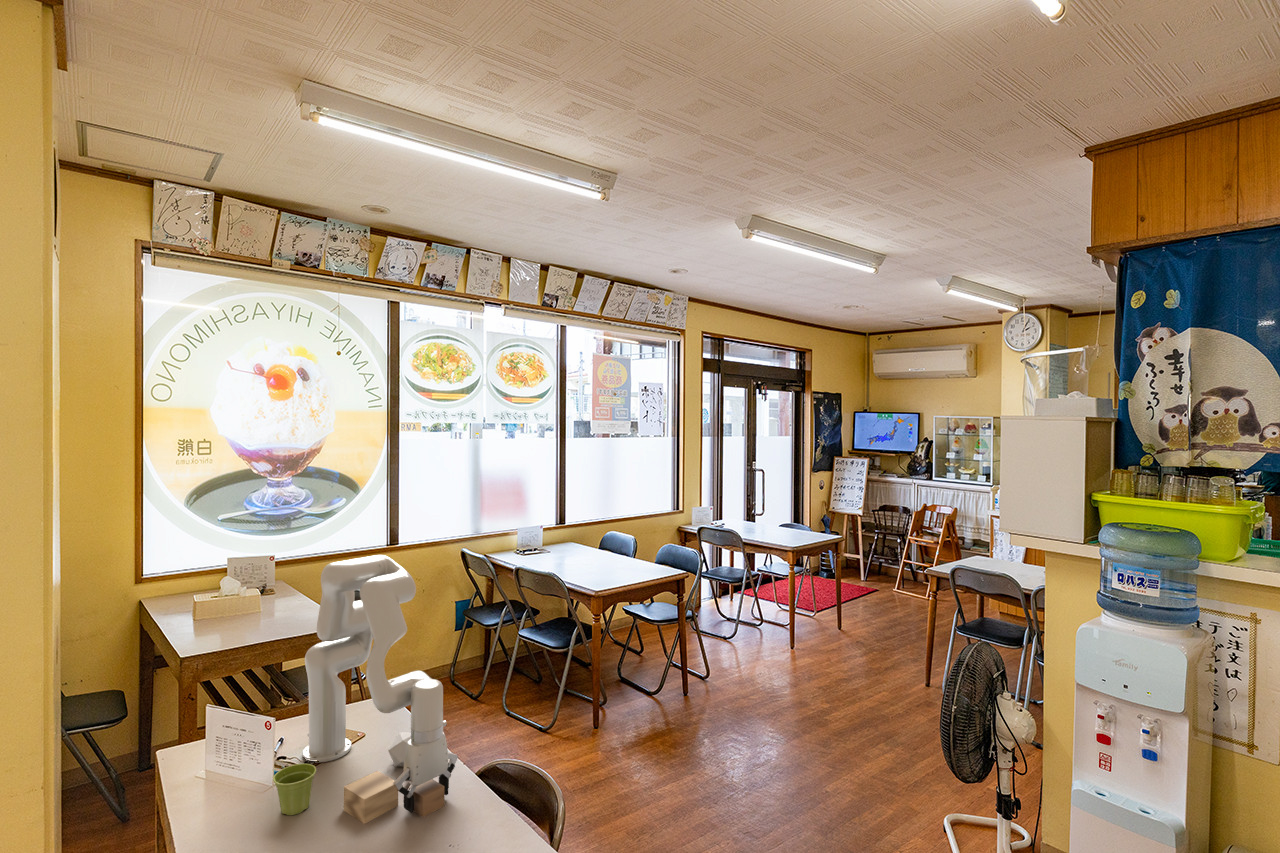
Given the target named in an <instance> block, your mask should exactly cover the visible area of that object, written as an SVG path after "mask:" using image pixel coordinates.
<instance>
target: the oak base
mask: <svg viewBox="0 0 1280 853" xmlns="http://www.w3.org/2000/svg"><path fill="white" fill-rule="evenodd" d="M395 780H396V779H395ZM395 780H394V779H393V778H391V777H389V776H388V775H385V774H384V773H382V772H381V771H379V770H376V771H374V772H372V773H370V774H368V775H365V776H363V777H361V778H359V779H357V780H355V781H353V782H351V783H349V784H347V785H344V786H343V811H344V812H346V813H347V814H349V815H350V816H351V817H353V818H355V819H356V820H358V821H359V822H361V823H362V824H364V825H365V824H367V823H369V822H370V821H373V820H374V819H376V818H379V817H380V816H382V815H384V814H386V813H388V812H389V811H391V810H393V809H395V808H397V807H398V806H399V791H397V789H396V787H395V786H394V784H393V783H394V781H395Z"/></svg>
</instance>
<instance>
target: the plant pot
mask: <svg viewBox="0 0 1280 853" xmlns="http://www.w3.org/2000/svg"><path fill="white" fill-rule="evenodd" d="M316 773H317V767H316V766H315V765H313V764H312V763H311V764H310V763H297V764H293V765H288V766H286V767H284V768H282V769H280V770H279V771H277V772H276V773H275V774H274V775H273V777H272V780H273V783H274V784H275V787H276V790H277V796H278V799H279V806H280V812H281V813H282V814H284V815H287V816H293V815H294V816H295V815H298V814H301V813H302V812H304V810H307V809H308V808H309V806H310V802H311V794H312V789H313V788H312V787H313V786H312V785H313V780H314V778H315V774H316Z"/></svg>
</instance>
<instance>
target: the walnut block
mask: <svg viewBox="0 0 1280 853" xmlns="http://www.w3.org/2000/svg"><path fill="white" fill-rule="evenodd" d="M409 789H410V787H409ZM409 789H408V790H409ZM412 795H413V796H414V812H413V813H415V814H418V815H419V816H421V817H422V818H424V817H427V816H428V815H430V814H432V813H434V812H436V811H437V810H440V809H441V808H443V807H445V795H444V786H443V785H441V784H440V783H439V781H436V780H435V779H434V778H433V779H431V780H429V781H427V782H425V783H423V784H421V785H418V786H417V787H416V789H415V790H414V792H413V794H412Z"/></svg>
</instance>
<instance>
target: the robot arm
mask: <svg viewBox="0 0 1280 853" xmlns="http://www.w3.org/2000/svg"><path fill="white" fill-rule="evenodd" d="M320 586H321V598H320V604H319V610H318V615H317V620H316V635H317V638H319V640H321V642H318V643H316V644H314V645H312V646H311V647H310V648H308V650H307V651H306V653H305V656H304V664H305V665H304V666H305V669H306V670H305V671H306V674H307V681H308V682H307V683H308V734H307V738H308V745H307V746H305V747H304V748H303V750H302V758H303V757H305V758H306V759H310V760H317V761H319V762H318V763H326V762H330V761H335V760H338V759H340V758H342V757H343V756H345V755H347V754H348V753H349V752H350V751H351V749H352V741H351V740H350V739H349V738H346V737H347V736H346V733H347V732H346V730H347V729H346V728H347V727H346V724H347V723H346V716H347V715H346V714H347V712H346V710H347V709H346V708H347V707H346V705H347V704H346V703H347V702H346V701H347V697H346V695H347V694H346V693H347V692H346V685H345V683H344V682H343V681H342V679H340V678H339V676H338V675H339V674H340V673H341V672H344V671H347V670H350V669H353V668H356V667H359V666H361V665H363V664H364V663H365V662H367V663H366V670H365V671H366V672H365V673H366V674H365V676H366V677H365V678H366V683H367V687H368V691H369V694H370V697H371V699H372V702H373V705H374V707H375V708H376V709H377V711H378V712H380V713H382V714H390V713H394V712H396V711H399V710H401V709H404V708H406V707H409V706H410V732H411V740H409V741H408V743H407V747H406V751H405V759H404V766H403V772H402V773H400V775H399V776H398V777H397V778H396V779H395V781H394V783H393V784H394V786H395V787H396V789H397V791H398V793H400V794H402V795H403V808H404V809H405V811H407V812H409V813H410V814H412V813H415V812H414V796H413V795H412V794H413V792H414V790H415V789H416V787H417V786H418V785H421V784H423V783H425V782H427V781H429V780H431V779H433V780H434V779H435V778H437V777H438V783H440V784H441V785H443V786H444V796H447V795H449V788H450V786H449V785H450V778H451V776H452V772H453V771H454V769H455V768H456V763H457V760H458V757H459V756H458V755H457V754H456V753H453V752H448V751H449V750H448V741H447V738H446V734H445V732H444V728H445V727H447V721H446V720H445V719H444V686H443V684H442V682H441V681H440V680H438V679H435V678H432V677H431V676H429V675H428V674H427V672H425V671H422V670H417V669H416V670H413V671H410V672H407V673H405V674H402V675H398V676H396V677H394V678H391V679H388V678H387V675H386V670H385V660H386V656H387V654H388V652H389V651H390V649H391V647H392V646H393V645H395V643H396V642H397V643H398V641H399V640H401V639H402V638H403V637H404V636H405V635H406V634H407V632H408V626H407V625H408V624H407V622H406V620H405V617H404V614H403V611H402V607H401V605H400V604H404V603H408V602H411V601H412V600H413V599H414V597H415V596H416V592H417V586H416V582H415V580H414V578H413V577H412V575H411V574H410V573H409V572H408V570H406V569H405V568H404V567H403V566H401V565H400V564H399V563H397V562H396V561H395V560H394V559H392V558H391V557H389V556H387V555H385V554H374V555H370V556H363V557H357V558H352V559H347V560H341V561H335V562H330V563H328V564H327V565H325V566H324V568H323V569H322V571H321V574H320ZM355 591H359V597H360V599H359V600H355V595H356V593H355ZM372 643H373V644H372ZM404 782H405V784H404V785H403V783H404ZM409 788H410V789H409Z"/></svg>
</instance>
